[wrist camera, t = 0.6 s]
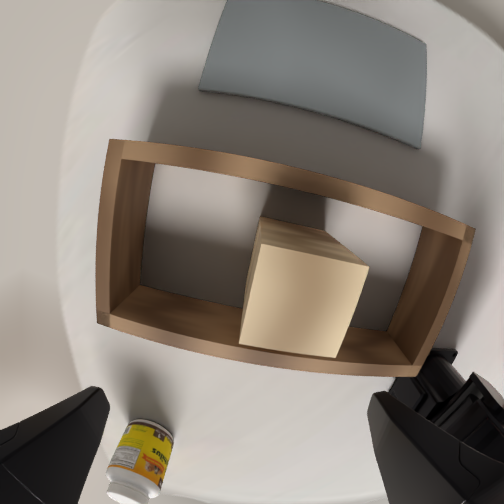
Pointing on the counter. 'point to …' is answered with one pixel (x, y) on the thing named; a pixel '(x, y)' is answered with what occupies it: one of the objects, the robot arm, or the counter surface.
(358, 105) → the slate mat
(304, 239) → the maple block
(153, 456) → the supplement bottle
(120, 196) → the walnut crate
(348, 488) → the counter surface
